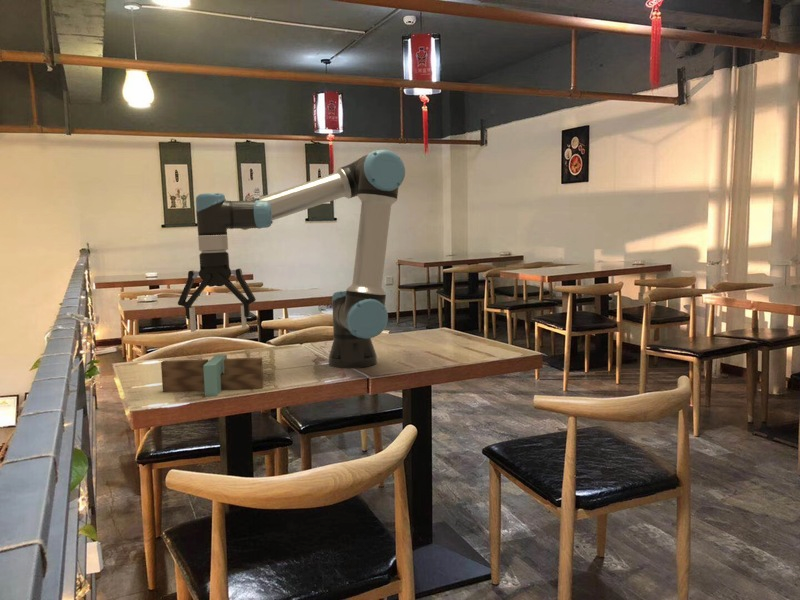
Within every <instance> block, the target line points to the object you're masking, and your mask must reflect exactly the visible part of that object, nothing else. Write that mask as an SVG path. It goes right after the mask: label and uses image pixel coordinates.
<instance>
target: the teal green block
mask: <svg viewBox="0 0 800 600" xmlns="http://www.w3.org/2000/svg"><path fill="white" fill-rule="evenodd" d="M224 359H228V358H227V354H215V355H214V356H212V357H211V358H210V359H208V362H207V363H206V364H205V365H203V369H204V386H205V391H204V397H218V395H219V394H220V393H222V392H221V391H222V390H221V374H222V373H224Z"/></svg>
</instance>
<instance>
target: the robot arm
mask: <svg viewBox="0 0 800 600" xmlns="http://www.w3.org/2000/svg"><path fill="white" fill-rule="evenodd" d="M405 176H406V168H405V164H404V162H403V160H402V158H401V157H400V156H399V155H398V154H397V153H395V152H394V151H392V150H390V149H389V150H388V149H377V150H373V151H371V152H370V153H368V154H365V155H363V156H361V157H360V158H358V159H356V160H355V161H353V162H351V163H349V164H347V165H344V166H342V167H338V168H337V170H336V172H334V173H331V174H328V175H325V176H321V177H318V178H315V179H312V180H308V181H306V182H304V183H300V184H297V185H294V186H291V187H288V188H284V189H281V190H278V191H275V192H273V193H269V194H266V195H263V196H259V197H258V198H254V199H253V198H252V199H251V200H226V197H225V194H224V193H219V192H217V193H214V192H211V193H207V192H206V193H199V194H198V195H196V197H195V209H196V210H195V213H196V226H197V235H198V237H197V239H198V241H197V242H198V251H200V252H201V253H199V256H198V257H199V266H200V268H199V270H198V271H197V270H196V271H195V270H193V269H191V270H188V272H187V280H186V283H185V285H184V287H183V289H182V292H181V294H180V297H179V299H178V301H177V305H178V306H181V307H184V309H185V319H186V320H189V324H190V326H189V327H190V332H191V333H194V332H196V331H197V322H196V308H195V306H193V304H194V303H195V301H197V299H198V297H200V295H201V293H202V292H203V291H204V290H205V289H206V288H207V287H209V288H211V287H215V286H216V287H223V286H225V287H226V289H228V290H229V291H230V292H231V293H232V295H234V296H235V297H236V298H237V299H238V300H239V301H240V302H241V303H242V304H241V305H240V317H241V318H240V319H241V330H246V329H247V318H248V317H250V315H251V313H250V304H253V303H254V302H256V297H255V294H254V292H252V290H251V288H250V286H249V285H248V283H247V281H246V280H245V278H244V276H243V272H242V268H236V269H232V270H231V269H230V256H229V252H228V251H227V250H229V242H228V230H233V229H235V230H236V229H237V230H238V229H241V230H245V231H246V230H249V229H259V230H260V229H267V228H271V226H272V221H275V220H278V219H280V218H284V217H287V216H290V215H292V214H296V213H299V212H302V211H305V210H308V209H312V208H315V207H317V206H320V205H323V204H326V203H330V202H333V201H336V200H338V199H340V198H341V199H342V198H347V199H352V198H355V197H358V199H359V200H360V201H361V205H360V214H359V225H358V232H357V233H358V234H357V240H356V241H357V242H356V249H355V258H354V268H353V275H352V284H351V285H349V286H348V287H347V288H346V290H343V291H341V290H339V291H335V292H333V294H332V296H331V297H332V298H331V299H332V300H331V305H332V327H333V341H332V344H331V348H330V352H329V355H328V365H329V366H330V367H335V368H341V369H342V368H343V369H357V368H365V367H372V366H373V365H375V364H377V362H378V360H377V359H378V358H377V353H376V349H375V347H374V345H373V341H372V339H373V338H376V337H378V336H379V335H380V334H382V333H383V332H384V331H385V329H386V327H387V325H388V321H389V314H388V311H387V308H386V306H385V305H386V296H387V293H386V291H385V290H384V289H383V278H384V271H385V270H384V269H385V261H386V251H387V244H388V238H389V237H388V235H389V227H390V217H391V210H392V206H393V204H395V203H396V202H397V201H398V195H399V187H400V186H401V185H402V183H403V181H404V179H405ZM232 275H233V277H234V278H236V280H237V282H238V283H239V285H240V287H241V288H242V290H243V292H244V294H245V295H246V296H245V295H244V294H243V293H242V292H241V291H240V289H238V288H237V286H235V284H233V282H232V281H231V279H230V278H231V276H232ZM198 276H199V278H200V279H201V280H202V281H201V283H200V284H199V285H198V287H197V288H196V290H195V291H194V292H193V293H192V295H191V296H190V297H189V294H190V292H191V289H192V287H193V285H194V282H195V280H196V279H198ZM188 297H189V298H188ZM187 299H188V300H187Z"/></svg>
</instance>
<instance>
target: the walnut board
mask: <svg viewBox="0 0 800 600" xmlns="http://www.w3.org/2000/svg"><path fill="white" fill-rule="evenodd" d="M208 361H209V358H207V359H205V358H203V359H181V360H178V359H176V360H161V362H160V368H161V382H162V384H161V385H162V386H161V387H162V393H174V392H176V393H177V392H179V393H180V392H202V391H204V392H205V386H204V369H203V365H205V364H206V363H207V362H208ZM263 369H264V367H263V357H241V358H240V357H237V358H234V357H233V358H227V359H224V373H222V374H221V391H223V390H224V391H226V390H228V391H229V390H249V389H250V390H253V389H255V390H256V389H257V390H258V389H263V388H264V370H263Z"/></svg>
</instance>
